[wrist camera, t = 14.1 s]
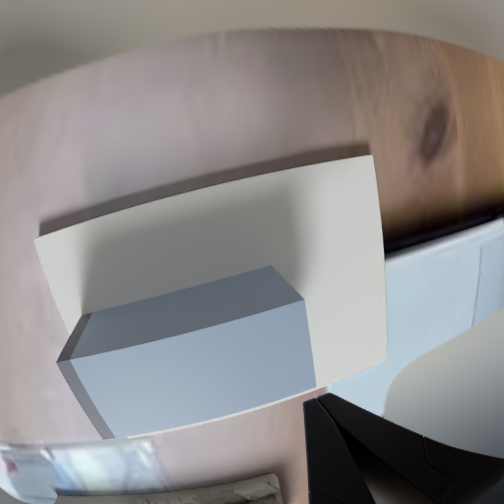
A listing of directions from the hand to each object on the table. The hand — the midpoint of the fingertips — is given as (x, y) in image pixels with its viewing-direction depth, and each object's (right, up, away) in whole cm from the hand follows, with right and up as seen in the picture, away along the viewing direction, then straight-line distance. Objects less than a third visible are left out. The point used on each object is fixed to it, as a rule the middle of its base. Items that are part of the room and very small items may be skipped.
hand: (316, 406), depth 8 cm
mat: (-3, +2, +7) cm, 8 cm away
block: (0, +2, +5) cm, 5 cm away
